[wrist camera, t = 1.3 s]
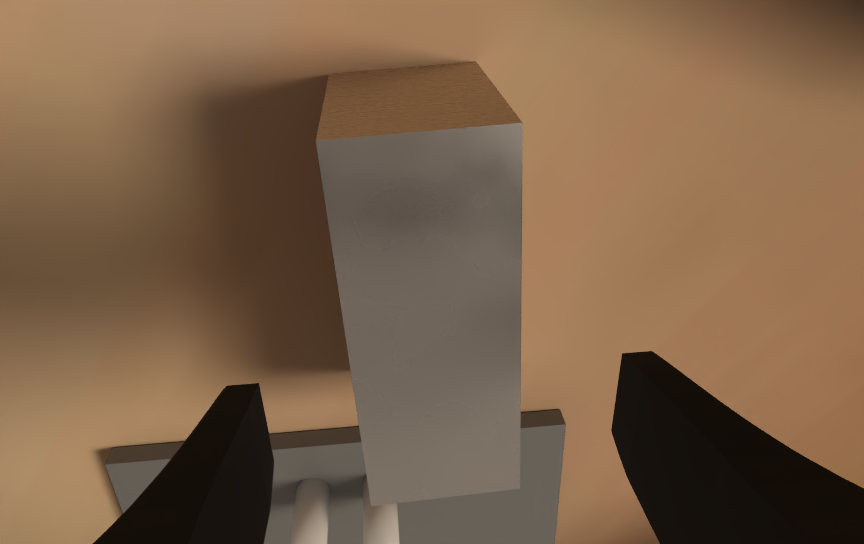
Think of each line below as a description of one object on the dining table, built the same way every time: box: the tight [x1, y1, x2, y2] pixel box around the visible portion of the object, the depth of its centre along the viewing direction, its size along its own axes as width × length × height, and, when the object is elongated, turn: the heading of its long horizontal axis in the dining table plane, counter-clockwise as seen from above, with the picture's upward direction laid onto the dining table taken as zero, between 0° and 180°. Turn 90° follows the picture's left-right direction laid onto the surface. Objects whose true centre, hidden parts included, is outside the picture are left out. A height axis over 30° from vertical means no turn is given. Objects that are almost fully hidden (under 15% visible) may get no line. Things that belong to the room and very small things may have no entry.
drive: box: [316, 62, 523, 506], centre depth 18 cm, size 4×10×6 cm, turn 3°
